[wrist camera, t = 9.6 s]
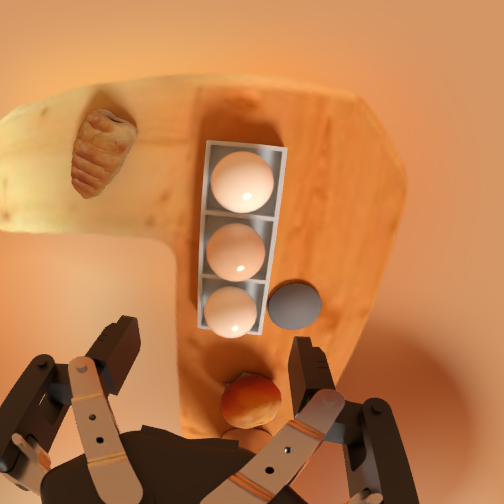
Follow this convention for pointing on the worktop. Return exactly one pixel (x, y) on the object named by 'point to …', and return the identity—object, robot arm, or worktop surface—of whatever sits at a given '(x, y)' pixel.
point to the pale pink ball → (235, 252)
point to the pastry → (100, 151)
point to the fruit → (250, 401)
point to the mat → (294, 306)
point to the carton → (259, 220)
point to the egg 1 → (242, 182)
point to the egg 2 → (230, 312)
